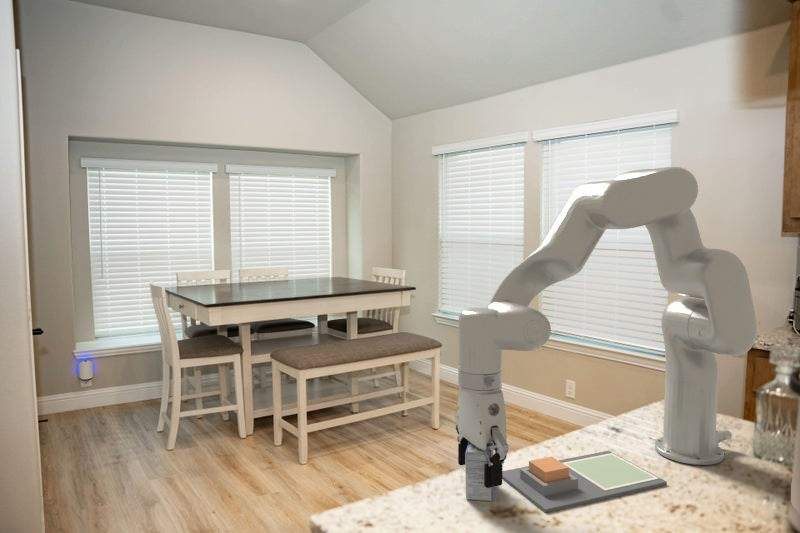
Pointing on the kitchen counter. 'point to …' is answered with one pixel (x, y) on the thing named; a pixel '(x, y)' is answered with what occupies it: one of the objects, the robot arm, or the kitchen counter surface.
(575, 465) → the activity board
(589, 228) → the robot arm
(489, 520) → the kitchen counter surface
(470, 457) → the medicine box
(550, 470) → the button
